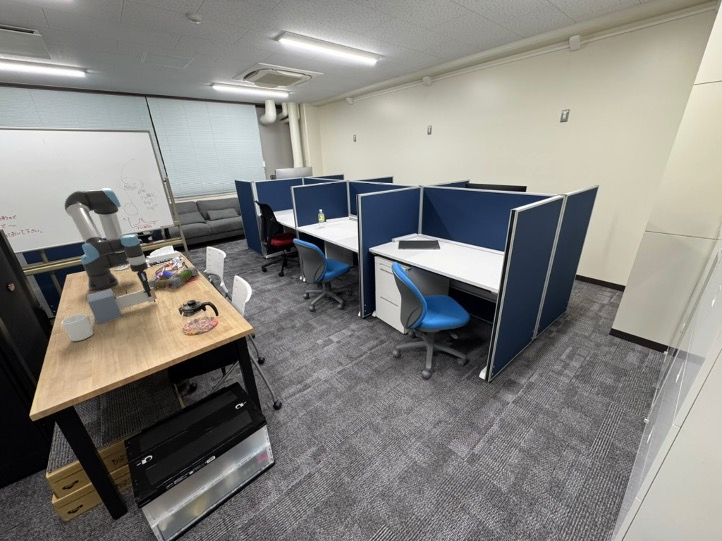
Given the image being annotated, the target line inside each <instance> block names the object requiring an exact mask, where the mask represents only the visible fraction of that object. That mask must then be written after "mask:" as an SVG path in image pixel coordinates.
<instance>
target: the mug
mask: <svg viewBox="0 0 722 541" xmlns="http://www.w3.org/2000/svg"><path fill="white" fill-rule="evenodd" d="M88 317H90V321H89V319H88ZM60 323H61V325H62V326H63V328H64V329H65V331H66V333H67V335H68V337H69V338H70V340H71V342H74V343H79V342H82V341H85V340H88V339H90V338H92V337H93V336H94V331H93V328H94V315H93V314H91V313H90V314H86V313H79V314H74V315H71V316H68V317H66V318H65V319H63V320H61V321H60Z"/></svg>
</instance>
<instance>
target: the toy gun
mask: <svg viewBox="0 0 722 541" xmlns="http://www.w3.org/2000/svg"><path fill="white" fill-rule="evenodd" d="M199 272H200V269H199V270H198V268H197V267H196V266H190V267H187V268H186V269H184V270H183V271H181V272H180V273H178V274H174V275H173V276H170V277H169V276H168V275H166V274H158V275H157V277H156V276H155V277H154V278H152V279H150V280H147V281H148V284H149V287H151V288H152V287H153V288H154V291H155V290H157V289H158V288H159V289H160V288H166V287H168V289H177V288H178V287H180V286H182V285H183V284H184V283H186V282H187V281H188V280H190V279H191V278H192V277H191V276H194V275H196V274H197V275H198V274H199ZM197 275H196V276H197ZM190 277H191V278H190ZM194 277H195V276H194ZM158 278H160V279H158ZM189 278H190V279H189ZM185 281H186V282H185Z"/></svg>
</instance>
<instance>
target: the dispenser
mask: <svg viewBox="0 0 722 541" xmlns="http://www.w3.org/2000/svg"><path fill="white" fill-rule="evenodd" d="M115 299H116V294H115V292H114V291H113V289H112V288H107V289H103V290H101V291H96V292H93V293H88V294H87V303H88V306H89V307H90V310H91V312H92V315H93V318H94V319H95V322H96V324H97V325H101V324H104V323H107V322H111V321H114V320H117V319H121V318H122V313H121V309H120V310H119V308H118V305H117V303H116V300H115Z"/></svg>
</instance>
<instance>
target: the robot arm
mask: <svg viewBox="0 0 722 541" xmlns="http://www.w3.org/2000/svg"><path fill="white" fill-rule="evenodd" d="M121 206H122V205H121V202H120V200H119V199H118V197H117V195H116V193H115V192H114V191H113V190H112V189H111V188H97V189H87V190H86V189H85V190H77V191H73V192H71V194H70V195H68V196H67V197H66V199H65V202H64V210H65V212H66V214H67V215H68V217H69V216H70V217H71V218H72V221H73V222H74V225H75V226H76V228H77V230H78V232H79V234H80V235H81V238H82V240H83V241H84V243H83V244H82V245H81V248H82V250H83V252H84V254H83V255H82V256H80V261H81V265H83V268H84V270H85V273H86V276H87V277H88V285H87V286H88V288H89V290H90V291H99V290H101V291H103V290H107V289H110V288H111V287H114V286H116V285H117V284H119V280H118V278H117V277H116V276H115V274H113V273H112V271H111V269H113V268H118V267H121V266H127V265H129V267H130V269H131V270H130V271H132V272H133V273H136V272H137V273H136V274H137V278H138V279H139V281H140V282H141V285H142V288H143V290H145V291H144V293H146V296H147V299H148V301H147V302H148V303H151V302H154V301H155V299H154V298H153V295H152V293H151V289H150V288H151V287H150V286H149V283H148V281H149V279H148V276H147V272H146V270H147V269H148V268H149V266H148V262H147V260H146V257H145V254H144V251H143V248H142V245H141V243H140V242H141V241H140V239H139V237H138V235H137V234H127V235H126V234H123V232H122V229H121V225H120V221H119V218H118V215H117V213H118V212H119V208H121ZM90 212H94V214H96V215H98V217H99V221H100V224H101V227H102V230H103V232H104V235H105V239H104V238H103V237H102V235H101V233H100V231H99V229H98V228H97V225H96V224H95V222H94V220H93V219H92V216H91V215H90Z"/></svg>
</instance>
